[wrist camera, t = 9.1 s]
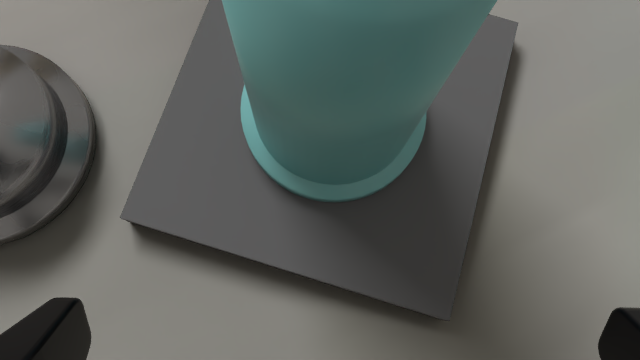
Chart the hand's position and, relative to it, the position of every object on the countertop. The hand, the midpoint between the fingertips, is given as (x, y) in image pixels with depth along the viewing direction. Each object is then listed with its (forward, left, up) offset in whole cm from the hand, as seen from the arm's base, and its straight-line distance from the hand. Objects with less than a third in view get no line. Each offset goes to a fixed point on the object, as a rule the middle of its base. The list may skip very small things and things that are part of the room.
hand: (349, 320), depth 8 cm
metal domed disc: (+12, -2, -7) cm, 14 cm away
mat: (+2, -6, -7) cm, 9 cm away
